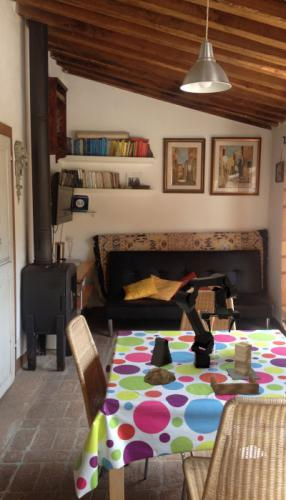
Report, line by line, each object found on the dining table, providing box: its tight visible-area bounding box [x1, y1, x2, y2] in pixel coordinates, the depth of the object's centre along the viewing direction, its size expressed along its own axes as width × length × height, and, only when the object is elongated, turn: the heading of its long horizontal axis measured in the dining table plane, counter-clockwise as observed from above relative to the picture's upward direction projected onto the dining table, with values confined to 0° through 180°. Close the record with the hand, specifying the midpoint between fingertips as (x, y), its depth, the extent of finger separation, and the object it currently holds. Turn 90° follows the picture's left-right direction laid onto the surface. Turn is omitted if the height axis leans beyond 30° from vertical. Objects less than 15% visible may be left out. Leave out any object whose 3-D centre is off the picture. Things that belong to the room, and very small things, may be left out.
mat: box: [225, 367, 261, 381], centre depth 192 cm, size 12×12×1 cm
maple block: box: [234, 341, 252, 376], centre depth 191 cm, size 5×5×13 cm
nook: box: [209, 376, 260, 396], centre depth 176 cm, size 17×9×4 cm, turn 93°
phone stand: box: [149, 336, 174, 368], centre depth 204 cm, size 9×6×12 cm, turn 132°
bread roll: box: [143, 367, 177, 387], centre depth 185 cm, size 13×12×5 cm
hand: (219, 332), depth 209 cm, fingers open, 9 cm apart
